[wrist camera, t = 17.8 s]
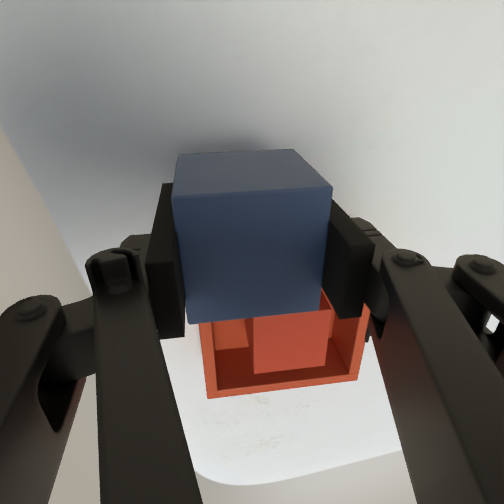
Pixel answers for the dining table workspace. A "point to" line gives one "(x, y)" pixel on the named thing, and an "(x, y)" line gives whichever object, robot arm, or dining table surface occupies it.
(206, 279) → the blue block
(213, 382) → the red bin
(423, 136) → the dining table surface
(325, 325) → the red block
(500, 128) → the dining table surface
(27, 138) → the dining table surface
